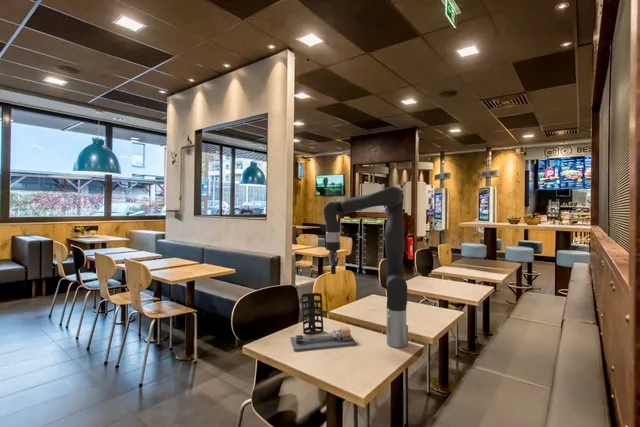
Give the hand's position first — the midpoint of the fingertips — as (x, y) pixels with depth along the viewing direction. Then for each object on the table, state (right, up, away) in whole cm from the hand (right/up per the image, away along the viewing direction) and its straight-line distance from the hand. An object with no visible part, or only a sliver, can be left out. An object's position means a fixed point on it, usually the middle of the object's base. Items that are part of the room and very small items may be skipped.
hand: (333, 273), depth 176 cm
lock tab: (+6, -29, -8) cm, 30 cm away
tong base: (-5, -30, -9) cm, 32 cm away
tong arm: (-9, -29, -11) cm, 32 cm away
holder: (-11, -31, +4) cm, 33 cm away
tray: (-6, -32, -10) cm, 34 cm away
